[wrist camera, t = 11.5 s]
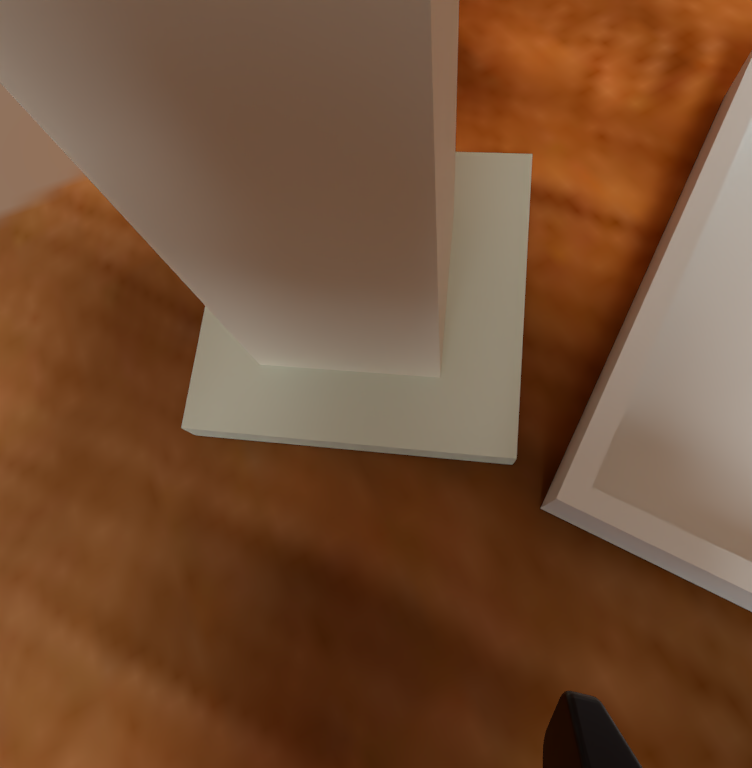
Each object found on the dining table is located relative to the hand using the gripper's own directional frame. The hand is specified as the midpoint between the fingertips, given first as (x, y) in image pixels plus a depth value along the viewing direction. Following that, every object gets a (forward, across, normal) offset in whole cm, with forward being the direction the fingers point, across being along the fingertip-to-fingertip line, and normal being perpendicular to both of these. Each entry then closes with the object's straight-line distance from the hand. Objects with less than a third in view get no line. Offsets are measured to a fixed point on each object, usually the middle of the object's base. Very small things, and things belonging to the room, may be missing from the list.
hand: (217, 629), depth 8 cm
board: (+12, 0, 0) cm, 12 cm away
